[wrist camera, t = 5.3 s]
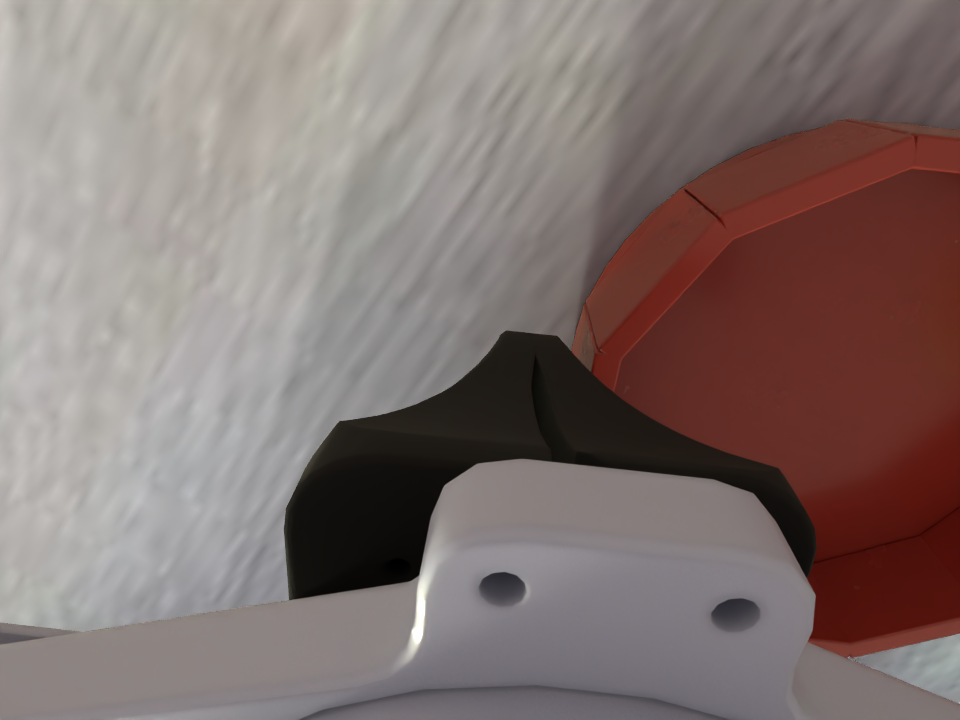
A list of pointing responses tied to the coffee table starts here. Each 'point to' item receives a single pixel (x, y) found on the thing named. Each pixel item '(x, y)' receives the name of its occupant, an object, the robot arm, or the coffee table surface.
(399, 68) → the coffee table surface
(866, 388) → the pan
